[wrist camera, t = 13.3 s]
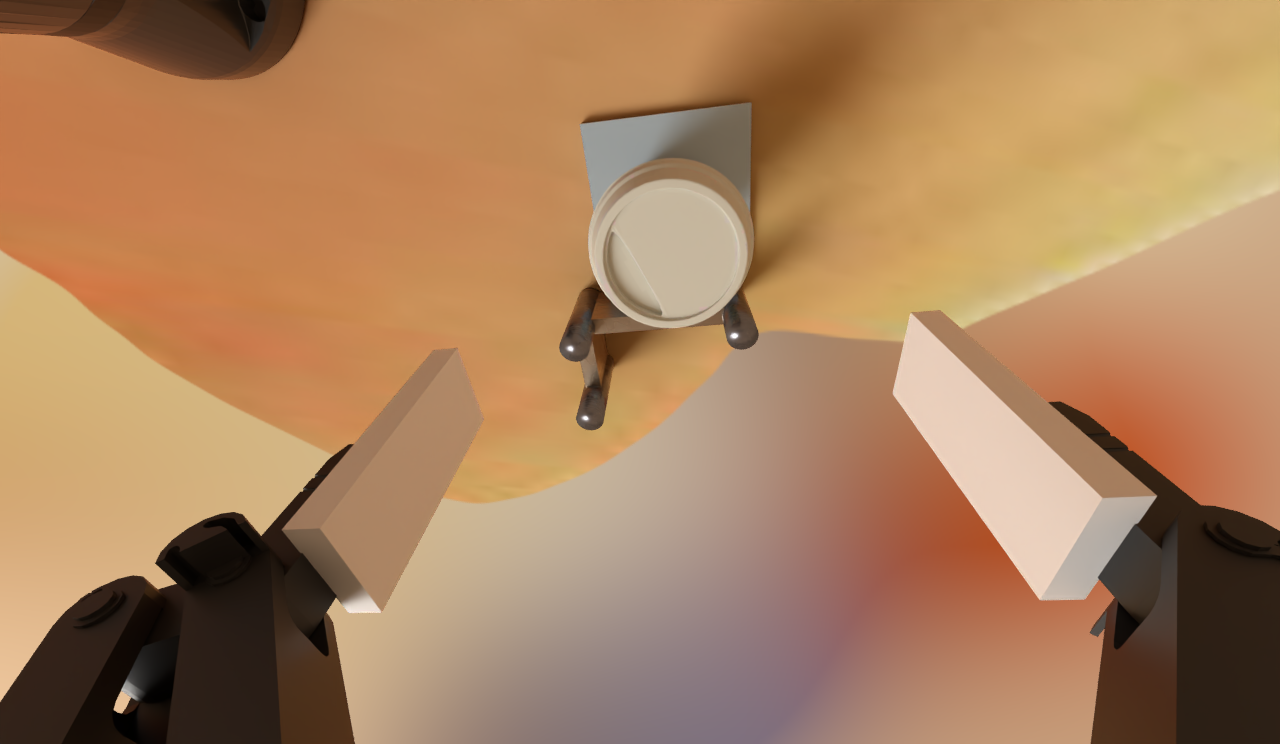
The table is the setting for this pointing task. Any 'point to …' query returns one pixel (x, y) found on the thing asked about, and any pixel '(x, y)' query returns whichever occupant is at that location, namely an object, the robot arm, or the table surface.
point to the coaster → (671, 144)
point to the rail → (604, 317)
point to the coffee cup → (671, 242)
